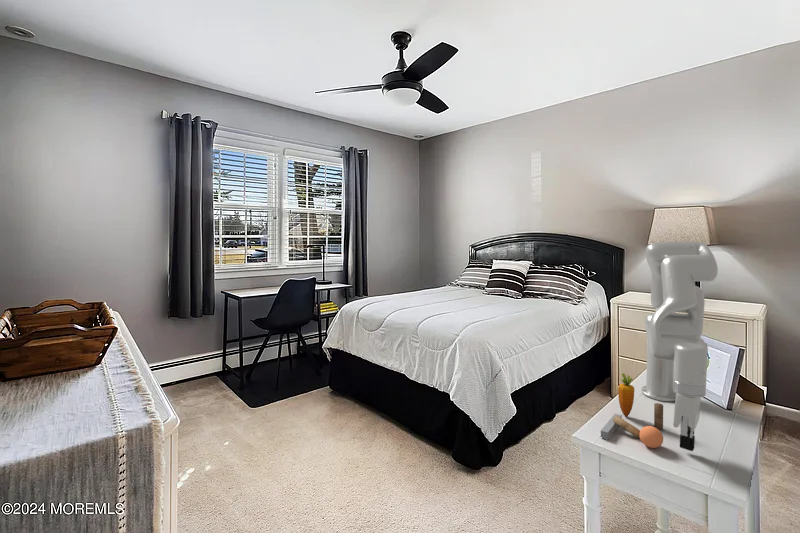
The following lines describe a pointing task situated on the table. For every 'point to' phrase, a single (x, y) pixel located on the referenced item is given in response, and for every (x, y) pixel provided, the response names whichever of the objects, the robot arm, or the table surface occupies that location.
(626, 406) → the carrot
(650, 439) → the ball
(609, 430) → the back wall
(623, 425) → the oak pin
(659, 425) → the walnut pin
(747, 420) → the table surface
